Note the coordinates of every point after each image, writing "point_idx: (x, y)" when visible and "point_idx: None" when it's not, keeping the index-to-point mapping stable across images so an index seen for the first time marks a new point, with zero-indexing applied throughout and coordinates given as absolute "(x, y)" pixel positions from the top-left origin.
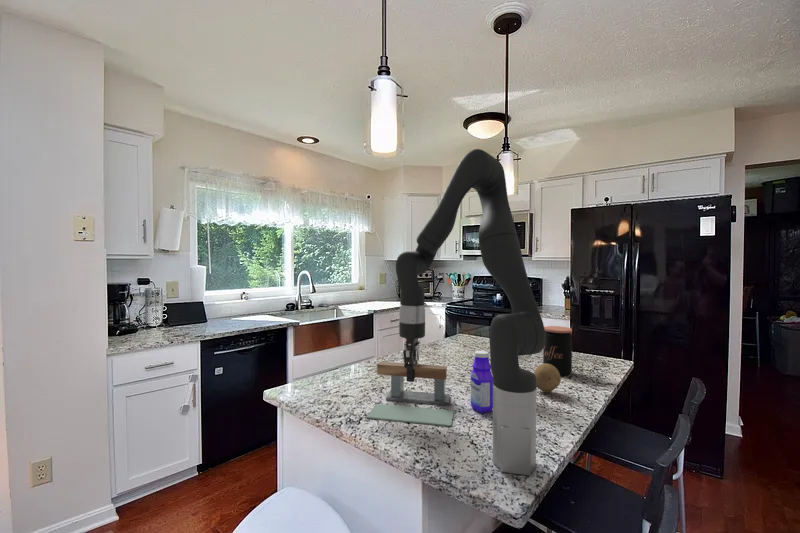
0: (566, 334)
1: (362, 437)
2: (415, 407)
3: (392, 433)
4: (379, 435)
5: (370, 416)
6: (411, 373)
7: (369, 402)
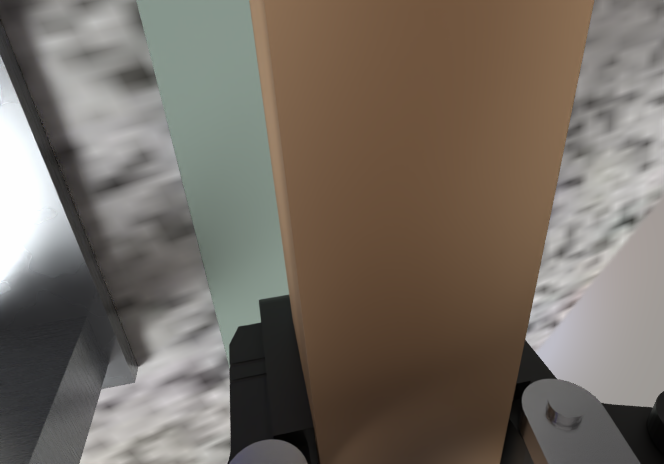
0: None
1: (590, 275)
2: (185, 168)
3: None
4: (572, 222)
5: None
6: (525, 355)
7: (214, 413)
